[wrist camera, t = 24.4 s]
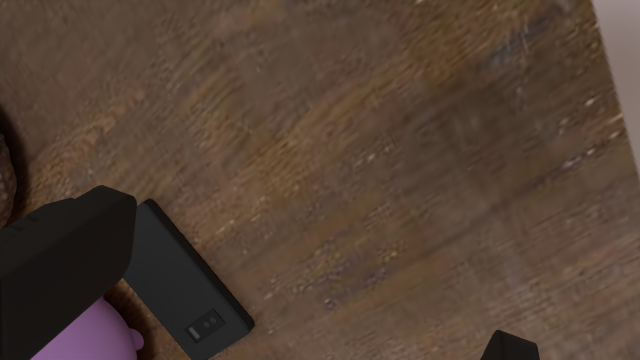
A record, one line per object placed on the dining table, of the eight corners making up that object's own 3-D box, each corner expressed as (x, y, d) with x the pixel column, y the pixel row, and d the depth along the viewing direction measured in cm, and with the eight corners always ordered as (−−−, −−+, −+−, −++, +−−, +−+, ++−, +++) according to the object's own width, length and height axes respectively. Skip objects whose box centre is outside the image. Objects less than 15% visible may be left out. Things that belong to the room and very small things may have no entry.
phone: (142, 201, 46) (250, 332, 47) (151, 196, 48) (256, 324, 48) (93, 245, 50) (196, 367, 51) (103, 239, 51) (203, 358, 52)
